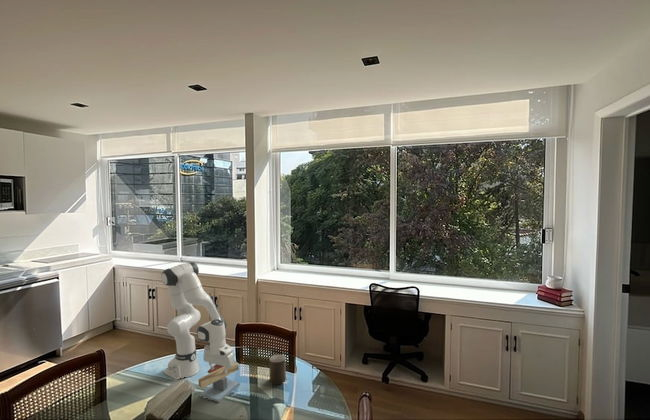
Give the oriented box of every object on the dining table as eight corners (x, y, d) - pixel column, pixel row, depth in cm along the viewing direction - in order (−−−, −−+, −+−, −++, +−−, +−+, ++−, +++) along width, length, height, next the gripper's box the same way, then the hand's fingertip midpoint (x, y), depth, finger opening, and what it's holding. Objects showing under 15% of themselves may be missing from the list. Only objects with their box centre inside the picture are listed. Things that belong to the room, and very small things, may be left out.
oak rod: (198, 386, 190) (198, 379, 189) (234, 367, 208) (234, 361, 208) (202, 388, 187) (202, 381, 187) (238, 369, 206) (238, 363, 205)
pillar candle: (278, 386, 201) (277, 362, 200) (266, 380, 207) (266, 357, 206) (289, 378, 208) (288, 355, 207) (278, 373, 214) (277, 350, 213)
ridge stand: (199, 396, 193) (199, 383, 192) (221, 379, 209) (220, 367, 209) (219, 402, 187) (218, 388, 186) (239, 384, 203) (239, 371, 203)
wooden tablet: (219, 376, 215) (219, 373, 214) (206, 373, 218) (206, 371, 218) (243, 355, 240) (242, 353, 239) (231, 353, 243) (230, 351, 243)
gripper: (200, 347, 198) (201, 369, 199) (228, 353, 189) (229, 377, 190) (208, 342, 203) (209, 364, 204) (235, 348, 195) (236, 371, 196)
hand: (218, 370), depth 197 cm, fingers open, 8 cm apart
